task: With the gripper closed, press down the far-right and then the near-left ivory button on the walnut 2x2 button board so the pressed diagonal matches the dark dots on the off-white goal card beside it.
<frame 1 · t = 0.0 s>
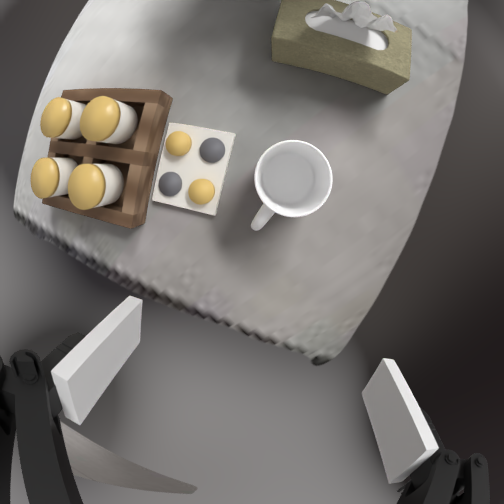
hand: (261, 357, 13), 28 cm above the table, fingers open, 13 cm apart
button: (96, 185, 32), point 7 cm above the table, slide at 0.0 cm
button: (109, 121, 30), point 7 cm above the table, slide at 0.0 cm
mug: (280, 188, 38), on the table
board: (105, 152, 38), on the table
goal card: (192, 167, 38), on the table
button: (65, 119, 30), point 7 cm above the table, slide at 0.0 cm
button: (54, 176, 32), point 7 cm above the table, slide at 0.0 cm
tissue box: (336, 51, 32), on the table
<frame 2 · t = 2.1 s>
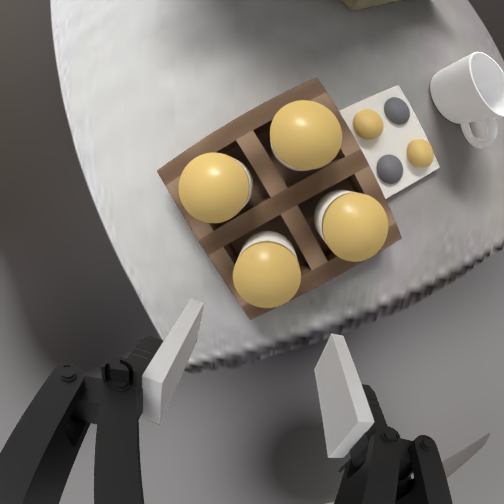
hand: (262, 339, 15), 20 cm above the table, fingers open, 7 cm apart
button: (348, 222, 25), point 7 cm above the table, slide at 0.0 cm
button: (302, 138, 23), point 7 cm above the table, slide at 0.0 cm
mug: (452, 110, 27), on the table
board: (282, 197, 32), on the table
goal card: (390, 140, 29), on the table
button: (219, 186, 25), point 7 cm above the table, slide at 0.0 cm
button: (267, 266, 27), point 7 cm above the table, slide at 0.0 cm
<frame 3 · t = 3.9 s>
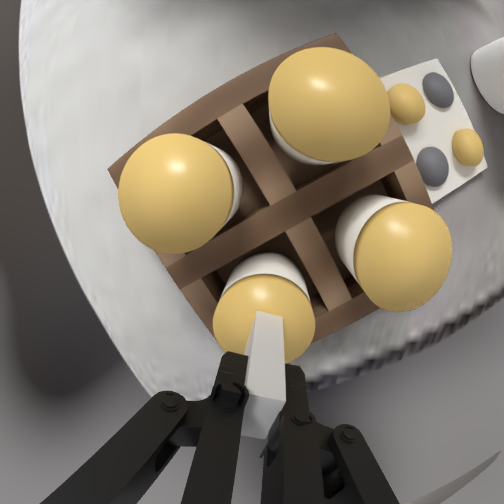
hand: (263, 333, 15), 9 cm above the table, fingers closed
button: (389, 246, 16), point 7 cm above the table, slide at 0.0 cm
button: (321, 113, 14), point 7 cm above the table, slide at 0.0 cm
mug: (495, 96, 17), on the table
board: (287, 204, 23), on the table
goal card: (430, 128, 19), on the table
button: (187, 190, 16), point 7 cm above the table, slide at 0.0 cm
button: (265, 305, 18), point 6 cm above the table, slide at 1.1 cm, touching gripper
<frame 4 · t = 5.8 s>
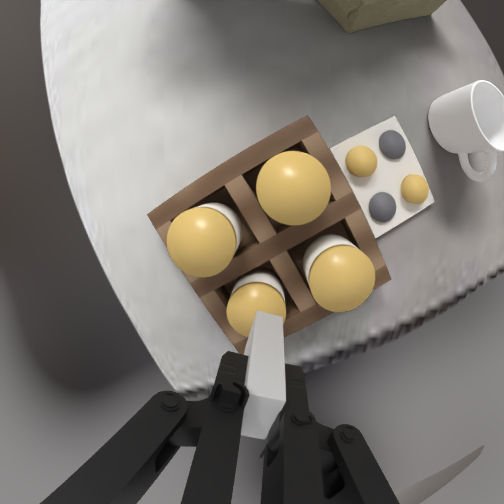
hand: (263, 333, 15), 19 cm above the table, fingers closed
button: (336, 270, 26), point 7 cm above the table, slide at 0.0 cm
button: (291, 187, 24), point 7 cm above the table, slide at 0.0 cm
mug: (450, 138, 28), on the table
board: (273, 238, 33), on the table
goal card: (384, 175, 30), on the table
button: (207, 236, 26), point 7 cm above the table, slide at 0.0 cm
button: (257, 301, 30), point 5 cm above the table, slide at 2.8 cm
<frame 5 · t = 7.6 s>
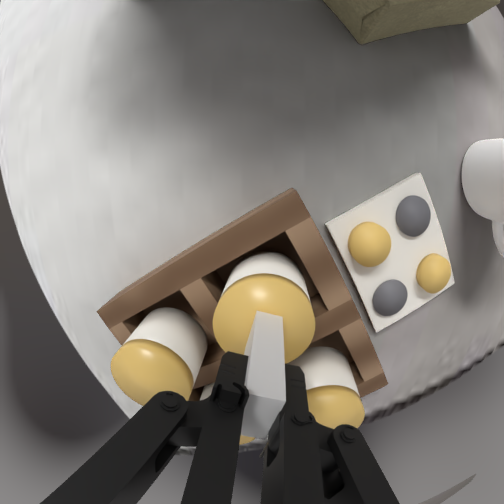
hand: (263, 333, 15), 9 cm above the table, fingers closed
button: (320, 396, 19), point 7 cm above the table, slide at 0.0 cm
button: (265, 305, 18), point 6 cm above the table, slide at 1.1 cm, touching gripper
mug: (483, 195, 21), on the table
board: (249, 332, 26), on the table
goal card: (397, 254, 23), on the table
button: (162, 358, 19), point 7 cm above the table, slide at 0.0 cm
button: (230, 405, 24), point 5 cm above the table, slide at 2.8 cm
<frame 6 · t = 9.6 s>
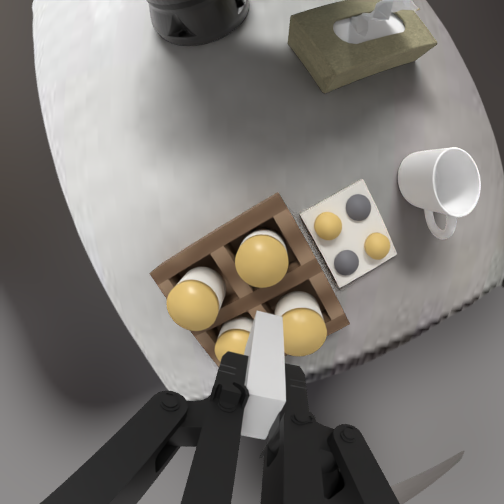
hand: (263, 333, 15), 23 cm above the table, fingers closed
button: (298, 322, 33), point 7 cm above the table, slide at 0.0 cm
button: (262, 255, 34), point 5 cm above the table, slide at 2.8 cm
mug: (419, 192, 34), on the table
board: (252, 288, 40), on the table
goal card: (350, 233, 37), on the table
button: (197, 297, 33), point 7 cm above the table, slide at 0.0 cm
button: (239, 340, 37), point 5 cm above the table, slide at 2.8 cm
tissue box: (355, 49, 30), on the table
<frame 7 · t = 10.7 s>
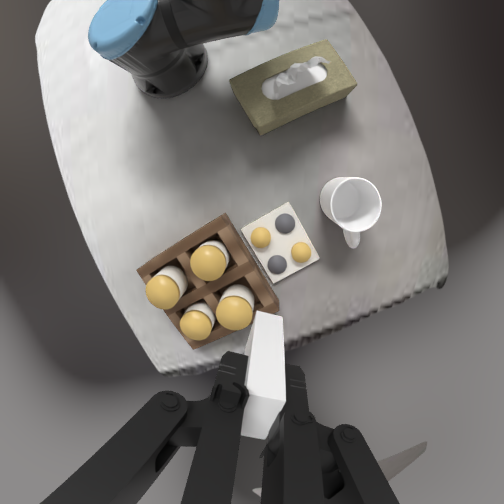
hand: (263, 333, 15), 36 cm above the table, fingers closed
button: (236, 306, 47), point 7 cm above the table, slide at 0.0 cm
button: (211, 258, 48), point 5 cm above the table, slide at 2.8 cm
mug: (341, 209, 49), on the table
board: (209, 281, 54), on the table
goal card: (280, 242, 51), on the table
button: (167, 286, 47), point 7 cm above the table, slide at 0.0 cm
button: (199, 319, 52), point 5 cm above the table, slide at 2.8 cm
tissue box: (291, 93, 44), on the table
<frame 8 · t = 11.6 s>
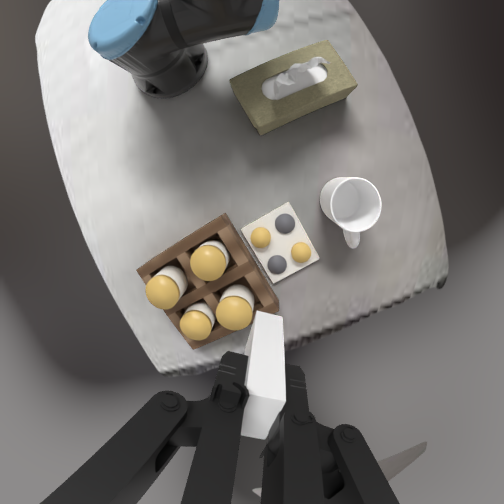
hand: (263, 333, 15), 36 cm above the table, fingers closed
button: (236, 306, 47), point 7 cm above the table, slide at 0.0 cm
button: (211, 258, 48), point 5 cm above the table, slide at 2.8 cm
mug: (341, 209, 49), on the table
board: (209, 281, 54), on the table
goal card: (280, 242, 51), on the table
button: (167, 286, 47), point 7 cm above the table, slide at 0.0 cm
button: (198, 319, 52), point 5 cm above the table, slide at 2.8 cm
tissue box: (291, 93, 44), on the table
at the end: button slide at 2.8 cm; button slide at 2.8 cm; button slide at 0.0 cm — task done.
